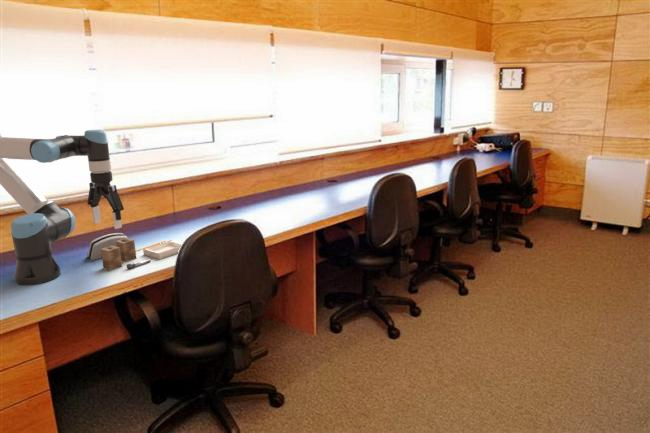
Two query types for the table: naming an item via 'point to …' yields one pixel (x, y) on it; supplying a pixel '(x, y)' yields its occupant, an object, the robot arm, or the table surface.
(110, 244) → the napkin holder
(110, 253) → the block
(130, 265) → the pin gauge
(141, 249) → the pencil
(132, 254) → the block
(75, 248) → the table surface
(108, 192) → the robot arm
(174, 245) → the tray
